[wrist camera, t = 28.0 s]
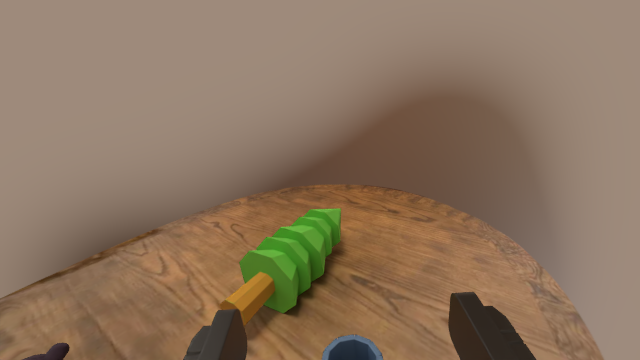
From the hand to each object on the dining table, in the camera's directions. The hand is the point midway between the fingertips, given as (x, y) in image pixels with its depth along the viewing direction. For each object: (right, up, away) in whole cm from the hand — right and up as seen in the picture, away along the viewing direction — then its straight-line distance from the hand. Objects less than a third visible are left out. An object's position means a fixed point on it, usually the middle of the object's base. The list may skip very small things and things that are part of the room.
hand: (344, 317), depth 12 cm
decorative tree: (-4, -12, +42) cm, 44 cm away
